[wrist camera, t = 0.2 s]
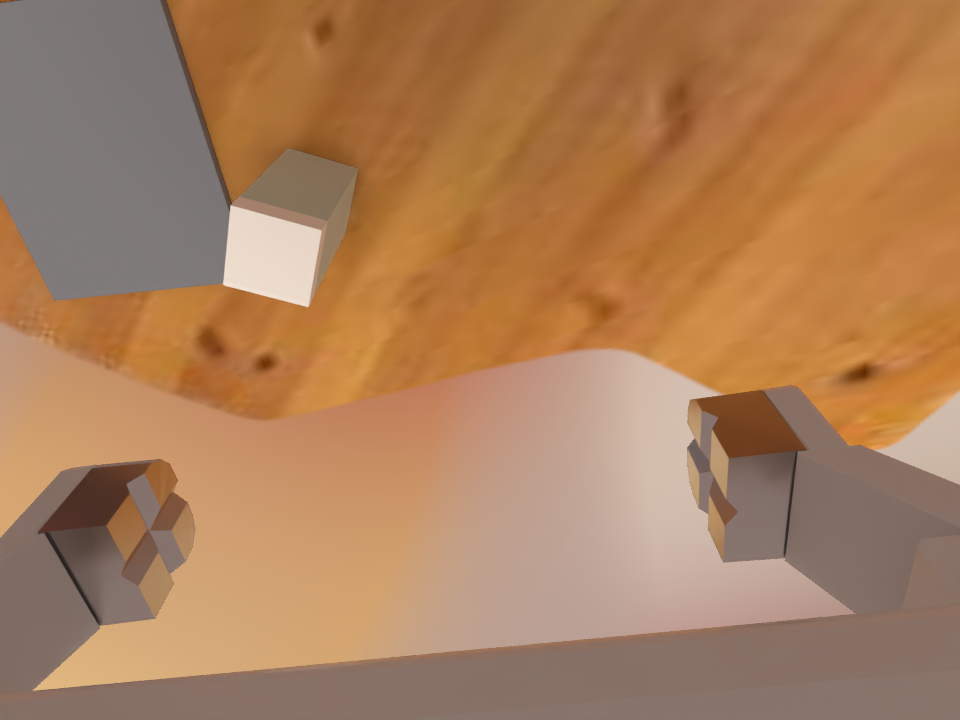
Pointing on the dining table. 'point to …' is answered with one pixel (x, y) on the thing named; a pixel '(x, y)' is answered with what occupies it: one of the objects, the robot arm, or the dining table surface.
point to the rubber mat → (107, 149)
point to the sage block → (289, 227)
